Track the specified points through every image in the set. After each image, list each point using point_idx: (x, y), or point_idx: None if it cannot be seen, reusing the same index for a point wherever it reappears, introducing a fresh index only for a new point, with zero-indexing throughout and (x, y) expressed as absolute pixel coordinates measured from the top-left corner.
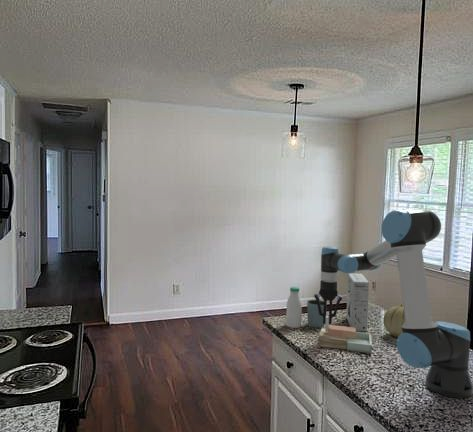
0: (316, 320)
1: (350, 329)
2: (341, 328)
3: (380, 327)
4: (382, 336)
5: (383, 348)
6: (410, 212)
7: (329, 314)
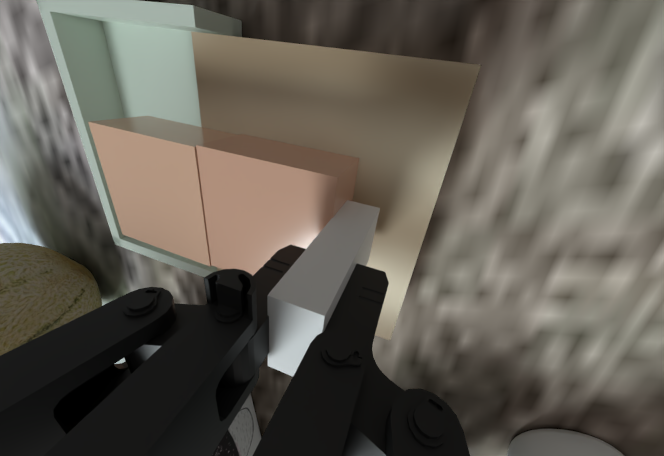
0: None
1: (139, 184)
2: (208, 205)
3: None
4: (126, 275)
5: None
6: None
7: (214, 350)
